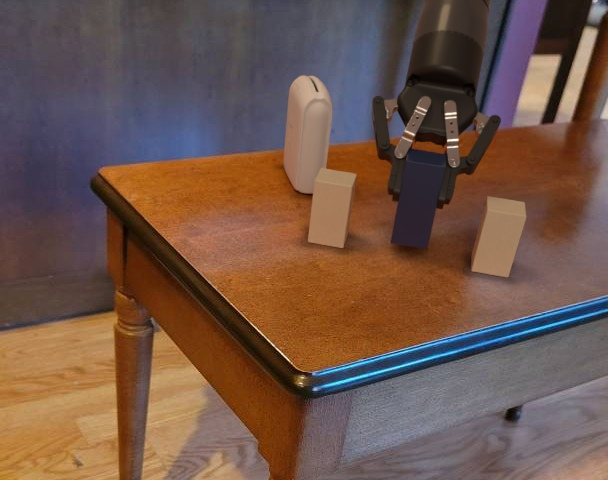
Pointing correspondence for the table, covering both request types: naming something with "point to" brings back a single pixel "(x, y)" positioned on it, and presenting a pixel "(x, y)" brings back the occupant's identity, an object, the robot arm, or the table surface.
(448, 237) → the table surface
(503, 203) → the post
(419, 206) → the navy block
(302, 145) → the photo printer
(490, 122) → the robot arm
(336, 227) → the post
